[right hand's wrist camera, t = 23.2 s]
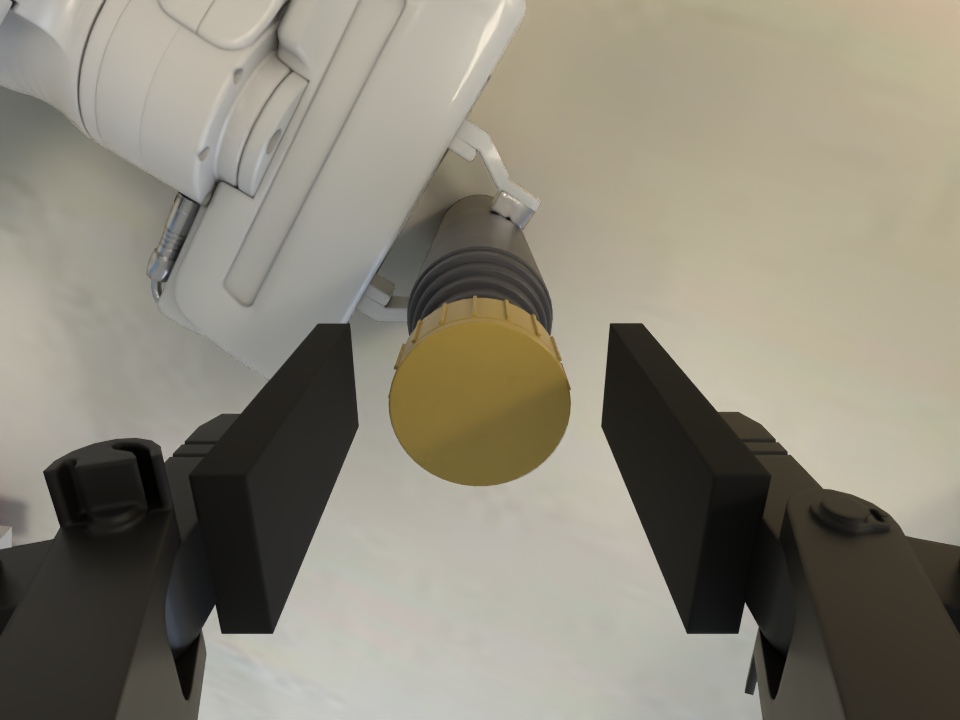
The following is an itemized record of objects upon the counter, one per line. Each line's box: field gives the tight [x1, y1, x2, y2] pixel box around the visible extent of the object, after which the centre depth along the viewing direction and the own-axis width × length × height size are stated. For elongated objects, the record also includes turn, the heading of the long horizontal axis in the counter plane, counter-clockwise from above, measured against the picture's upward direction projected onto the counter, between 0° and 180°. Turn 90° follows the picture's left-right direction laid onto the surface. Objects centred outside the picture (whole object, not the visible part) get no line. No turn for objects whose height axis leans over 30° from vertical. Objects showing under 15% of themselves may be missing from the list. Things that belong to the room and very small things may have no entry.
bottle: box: [407, 195, 553, 337], centre depth 23 cm, size 5×5×22 cm
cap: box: [389, 296, 571, 486], centre depth 13 cm, size 4×4×2 cm
